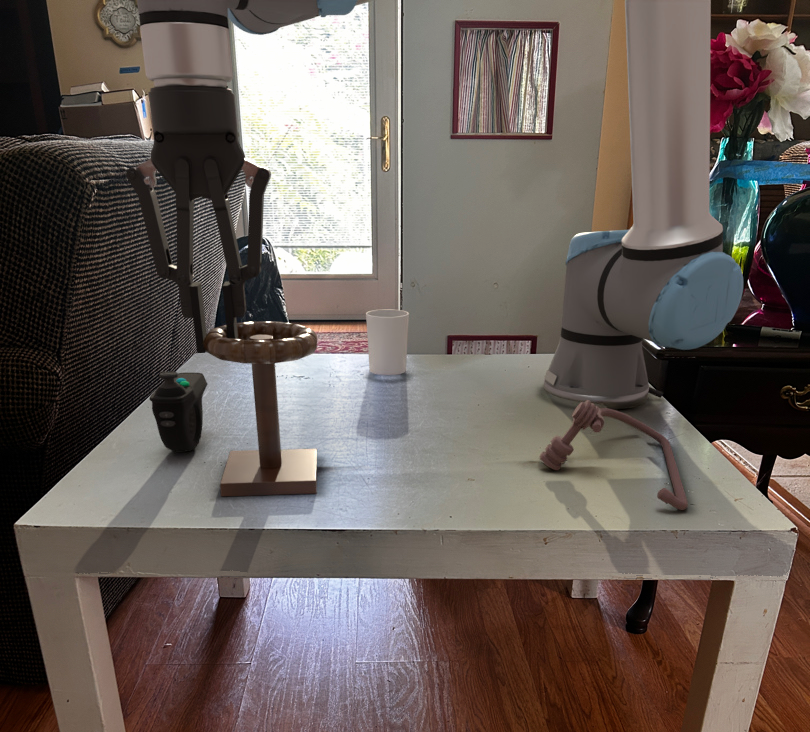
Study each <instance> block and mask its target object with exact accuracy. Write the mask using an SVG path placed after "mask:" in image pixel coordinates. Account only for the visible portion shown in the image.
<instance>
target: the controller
mask: <svg viewBox="0 0 810 732" xmlns="http://www.w3.org/2000/svg"><path fill="white" fill-rule="evenodd" d="M158 375H159V376H158V377H159V378H160V379H162V380H164V381H163V382H162V383H161V384H160V385H159V386H158V387H157V388H156V389H155V390H154V391H153V392H152V393H151V395H150V396H149V401H150V402H151V410H152V415H153V416H154V417H153V418H154V420H155V422H156V423H155V424H156V426H157V432H158V434H159V438H160V441H161V442H162V444H163V445H164V448H166V449H167V450H170V451H172V452H190V451H193V450H194V449H196V448H197V447H198V445H199V443H200V442H201V437H202V431H203V422H204V421H203V419H204V418H203V417H204V414H203V413H204V410H203V395H204V392H205V391H206V388H207V386H208V382H207V379H206V378H205V375H204V373H201V372H177V371H173V370H167V371H162V372H160V373H159V374H158Z"/></svg>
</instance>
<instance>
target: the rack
mask: <svg viewBox="0 0 810 732" xmlns="http://www.w3.org/2000/svg"><path fill="white" fill-rule="evenodd" d="M249 339H250V340H260V341H270V340H273V336H271V335H254V336H251V337H250V338H249ZM251 374H252V385H253V399H254V409H255V411H254V412H255V421H256V423H255V424H256V433H257V445H258V449H253V450H252V449H250V450H230V451H229V454H228V455H227V456H228V457H227V460H226V463H225V466H224V470H223V472H222V475H221V480H220V483H219V487H220V488H219V489H220V496H221V497H244V496H245V497H247V496H248V497H249V496H279V495H280V496H281V495H312V494H313V495H315V494H317V492H318V465H317V464H318V449H317V448H290V449H289V448H288V449H283V448H282V446H281V432H280V431H281V430H280V418H279V417H280V415H279V402H278V388H277V386H278V385H277V373H276V363H273V364H251Z"/></svg>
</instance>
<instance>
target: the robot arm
mask: <svg viewBox="0 0 810 732" xmlns="http://www.w3.org/2000/svg"><path fill="white" fill-rule="evenodd" d="M375 1H376V0H136V5H137V12H138V19H139V29H140V38H141V47H142V55H143V65H144V71H145V77H146V78H147V79H148V80H149V81H151V82H153V85H154V87H150V88H149V91H148V103H149V109H150V118H151V125H152V133H153V144H152V148H151V150H150V153H149V154H150V156H149V157H150V158H149V159H147V160H145V161H144V162H142V163H141V164H139V165H137V166H134V167H129V168H127V169H126V171H125V176H126V178H127V180H128V182H129V183H130V185H131V187H132V189H133V191H134V192H135V193H136V195H137V197H138V202H139V205H140V210H141V213H142V219H143V221H144V226H145V231H146V234H147V239H148V242H149V243H148V244H149V246H150V251H151V255H152V260H153V263H154V266H155V271H156V274H157V276H158V277H159V278H160V279H165V280H169V281H172V282H174V284H176V285H177V287H178V293H179V294H178V295H179V303H180V311H181V314H182V316H183V319H192V321H193V329H194V338H195V346H196V353H197V354H205V353H207V351H206V350H205V349H204V346H203V341H204V338H205V337H206V335H207V334H208V331H207V323H206V314H205V306H204V305H205V304H204V295H203V288H202V281H194V278H195V274H194V220H195V219H194V218H195V217H194V216H195V215H194V211H195V199H199V198H202V199H206V200H211V205H212V209H213V211H214V216H215V219H216V224H217V229H218V234H219V238H220V243H221V247H222V251H223V257H224V261H225V267H226V271H227V275H228V281H224V283H223V284H222V286H221V287H222V297H223V307H224V317H225V325H226V328H227V338H232V339H238V331H237V323H238V322H237V318H244V317H245V315H246V312H247V301H246V290H245V288H246V287H245V283H246V281H248V280H251V279H254V278H257V277H258V276H259V275H260V273H261V271H262V262H263V261H262V260H263V235H264V234H263V233H264V209H265V208H264V207H265V206H264V205H265V193H266V191H267V189H268V188H267V187H268V185H269V182H270V180H271V177H272V171H271V170H270V169H269V168H268V167H266V166H263V167H262V166H261V165H258V164H256V163H255V162H252V161H251V160H249V159H248V158H246V154H245V152H244V149H243V148H242V146H241V144H240V141H239V135H238V133H239V132H238V122H237V110H236V96H235V93H234V92H233V90H232V89H230V88H229V86H228V83H230V82H232V80H234V74H233V61H232V51H231V49H232V48H231V37H230V27H229V21H230V22H231V23H232V24H233V25H234V26H235V27H237V29H239V30H241V31H243V32H245V33H247V34H251V35H259V36H264V35H268V34H272V33H275V32H277V31H278V30H279V29H281V28H284V27H287V26H288V27H289V26H291V25H294V24H298V23H302V22H305V21H309V20H313V19H315V18H317V17H320V18H326V17H327V16H347V15H349V14H350V13H352V12H353V10H354V9H355V7H356V6H361V5H364V4H366V3H370V2H375ZM711 1H712V0H624V9H625V10H624V15H625V17H624V18H625V41H626V65H627V91H628V92H627V93H628V94H627V95H628V115H629V117H628V118H629V140H630V144H629V145H630V164H631V165H630V168H631V191H632V218H633V224H632V226H631V227H630V228H629V229H619V230H618V229H616V230H615V229H614V230H603V231H602V230H601V231H586V232H580V233H577V234H575V235H574V236H573V237H572V238H571V240H570V242H569V246H568V250H567V255H566V260H565V266H566V268H565V269H566V270H565V280H564V290H563V291H564V292H563V301H562V302H563V303H562V311H561V312H562V314H561V325H560V326H561V327H560V335H559V342H558V345H557V347H556V349H555V352H554V355H553V357H552V359H551V361H550V364H549V367H548V368H547V370H546V371H545V375H544V377H543V385H542V386H543V389H544V390H545V392H547V393H549V394H550V395H553V396H554V397H558V398H560V399H565V400H569V401H574V402H578V403H579V402H580V403H581V402H584V403H585V402H586V401H587V400H589V401H590V402H591V403H593V404H601V405H603V406H605V408H609V409H613V410H623V409H631V408H635V407H639V406H640V405H643V404H644V403H645V402H647V401H648V398H649V394H650V395H652V396H654V397H657V398H659V399H661V398H662V397H663V395H664V392H663V391H660V390H658V389H655V388H653V387H651V386H650V384H649V378H648V371H647V367H646V362H645V357H644V350H643V340H646V341H649V342H652V343H654V344H655V345H657V346H659V347H662V348H673V349H677V350H683V351H685V350H687V351H688V350H693V349H698V348H700V347H703V346H706V345H707V344H708V343H710V342H712V341H714V339H716V338H717V337H719V335H720V334H722V332H723V331H724V330H725V328H726V326H727V325H728V323H730V322H731V321H732V320H733V318H734V317H735V315H736V313H737V311H738V309H739V306H740V303H741V301H742V297H743V293H744V292H743V291H744V276H743V271H742V268H741V266H740V265H739V263H737V262H736V260H735V259H734V257H732V256H731V255H729V254H727V253H725V252H723V250H724V244H723V243H724V227H723V224H722V223H721V222H719V221H718V220H717V219H716V218H715V217H714V216H713V215H712V214H711V213H710V178H711V177H710V172H711V171H710V169H711V168H710V164H711V163H710V161H711V159H710V158H711V156H710V155H711V153H710V152H711V150H710V149H711V26H712V25H711V18H712V17H711V16H712V13H711V9H712V8H711V6H712V5H711V4H712V3H711ZM241 171H242V172H243V173H244V176H245V177H244V182H245V185H246V186H247V187H248V188H249V195H248V196H249V197H248V224H247V227H248V228H247V229H248V230H247V259H246V260H247V261H246V264H245V265H243V263H242V259H241V254H240V249H239V245H238V240H237V235H236V230H235V229H236V228H235V224H234V220H233V216H232V215H233V214H232V210H231V202H230V197H229V192H230V190H231V189H232V187H233V185H234V183H235V182H236V180H237V178H238V177H239V175H240V174H241ZM157 172H158V173H159V174H160V176H161V177H162V179H164V181H165V182H166V183H167V184H168V185H169V187H170V188H171V189H172V191H173V192H174V193H175V210H176V265H174V263H173V259H172V255H171V251H170V247H169V242H168V238H167V235H166V230H165V225H164V221H163V217H162V213H161V208H160V204H159V199H158V197H157V192H156V190H155V187H156V185H157V181H158V180H157V177H156V173H157ZM591 403H590V404H591Z"/></svg>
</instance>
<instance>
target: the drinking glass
mask: <svg viewBox="0 0 810 732" xmlns="http://www.w3.org/2000/svg"><path fill="white" fill-rule="evenodd" d="M409 317H410V313H409V312H408V311H406V310H402V309H401V310H400V309H392V308H391V309H389V308H388V309H373V310H369V311H367V312H365V320H366V321H365V323H366V339H367V351H368V352H367V354H368V368H369V369H368V370H369V372H370V373H371V374H374V375H378V376H396V375H401V374H404V373H406V372H407V357H408V341H409V340H408V338H409V336H408V335H409V319H410V318H409Z"/></svg>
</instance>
